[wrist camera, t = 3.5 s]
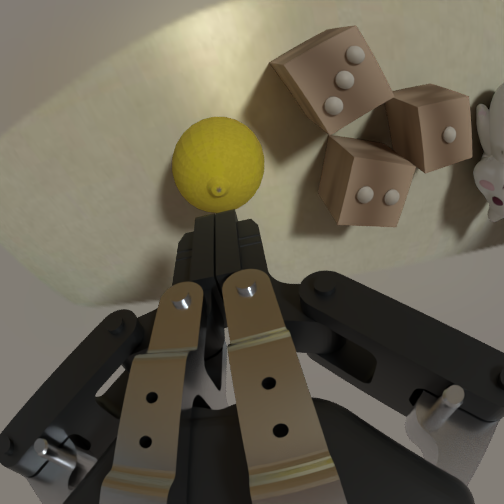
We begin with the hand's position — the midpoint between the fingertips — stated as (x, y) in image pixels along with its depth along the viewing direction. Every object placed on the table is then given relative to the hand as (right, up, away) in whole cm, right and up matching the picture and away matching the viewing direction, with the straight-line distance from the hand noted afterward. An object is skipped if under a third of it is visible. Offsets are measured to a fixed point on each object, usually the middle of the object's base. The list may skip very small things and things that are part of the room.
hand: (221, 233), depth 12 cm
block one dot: (+14, +10, +9) cm, 20 cm away
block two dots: (+9, +6, +11) cm, 16 cm away
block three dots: (+6, +12, +7) cm, 15 cm away
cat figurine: (+26, +11, +10) cm, 30 cm away
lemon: (-1, +7, +9) cm, 12 cm away
